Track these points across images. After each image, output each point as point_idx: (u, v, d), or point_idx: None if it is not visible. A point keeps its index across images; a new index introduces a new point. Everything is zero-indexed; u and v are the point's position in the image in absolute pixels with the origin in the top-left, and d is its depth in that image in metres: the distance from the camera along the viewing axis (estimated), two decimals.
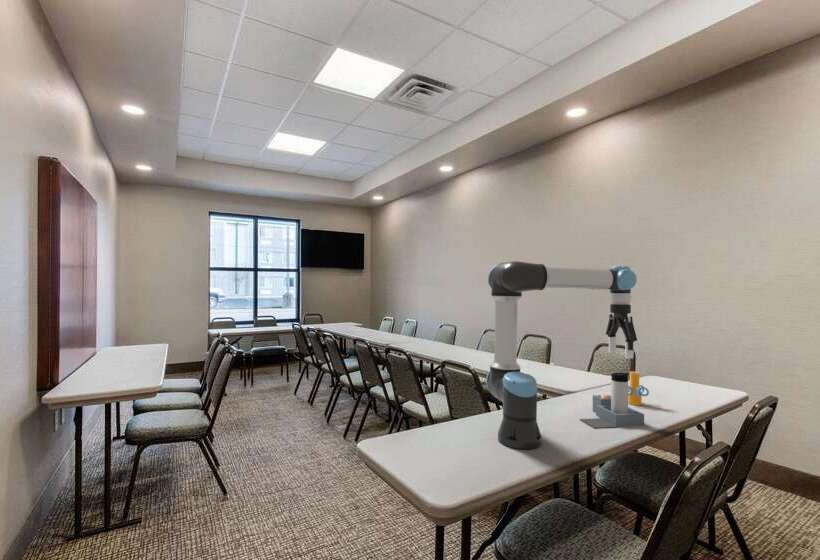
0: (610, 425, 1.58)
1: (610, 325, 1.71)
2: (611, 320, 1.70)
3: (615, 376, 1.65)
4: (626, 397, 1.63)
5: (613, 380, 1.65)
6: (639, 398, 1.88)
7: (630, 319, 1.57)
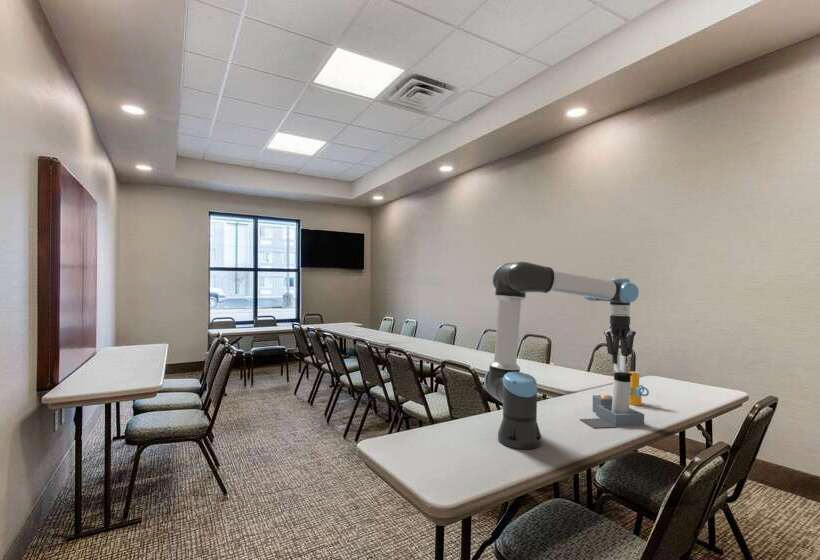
0: (610, 425, 1.58)
1: (627, 341, 1.68)
2: (628, 335, 1.68)
3: (618, 376, 1.64)
4: (628, 397, 1.63)
5: (616, 380, 1.65)
6: (639, 398, 1.88)
7: (607, 334, 1.65)
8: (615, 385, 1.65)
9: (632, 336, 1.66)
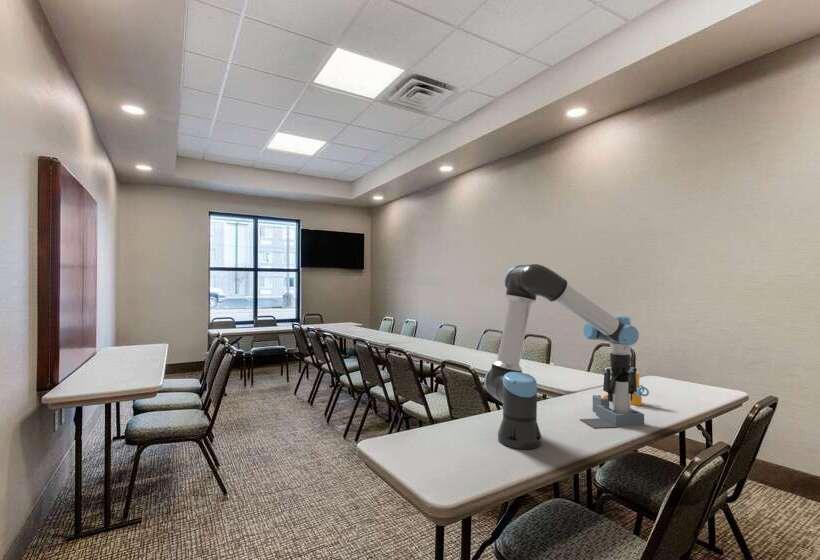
0: (610, 425, 1.58)
1: (630, 378, 1.68)
2: (629, 372, 1.68)
3: None
4: (626, 397, 1.63)
5: None
6: (639, 398, 1.88)
7: (606, 371, 1.65)
8: None
9: (634, 373, 1.66)
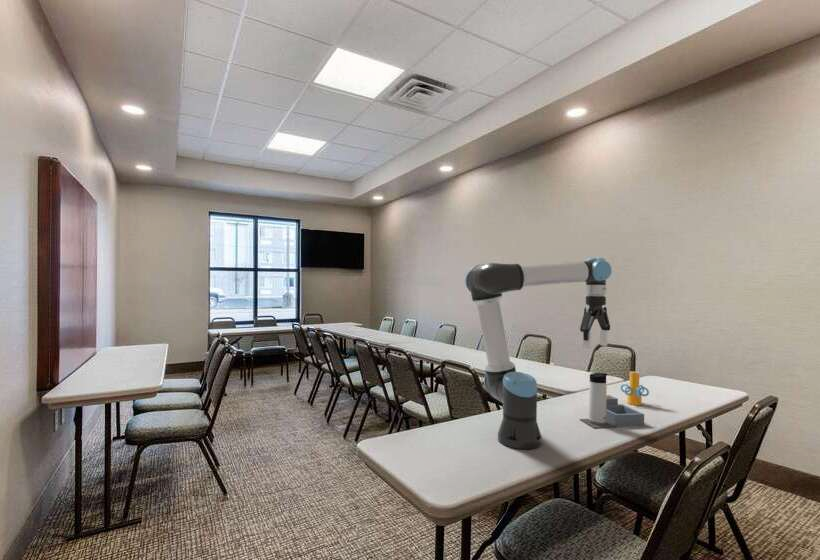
0: (610, 425, 1.58)
1: None
2: None
3: (597, 378, 1.59)
4: None
5: (594, 382, 1.60)
6: (639, 398, 1.88)
7: (588, 310, 1.60)
8: (594, 388, 1.60)
9: (605, 312, 1.67)
